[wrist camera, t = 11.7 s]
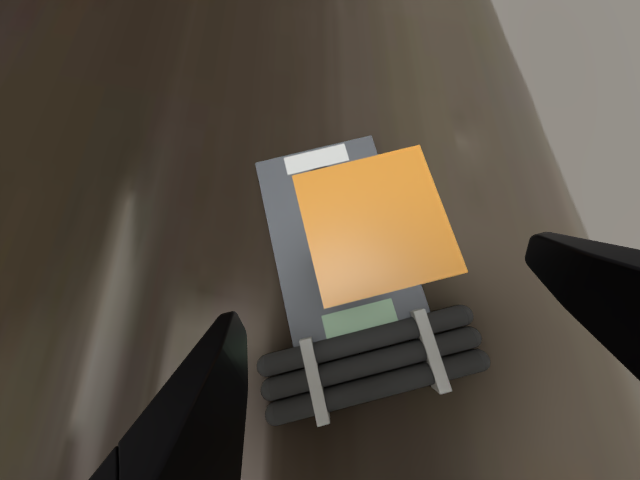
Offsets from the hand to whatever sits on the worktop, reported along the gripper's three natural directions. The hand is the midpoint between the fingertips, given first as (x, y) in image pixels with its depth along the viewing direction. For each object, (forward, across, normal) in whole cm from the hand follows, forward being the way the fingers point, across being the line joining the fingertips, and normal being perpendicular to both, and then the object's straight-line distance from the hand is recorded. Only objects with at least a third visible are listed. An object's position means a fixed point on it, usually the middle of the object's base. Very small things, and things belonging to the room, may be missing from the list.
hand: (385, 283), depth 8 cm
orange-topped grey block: (+9, 0, +7) cm, 12 cm away
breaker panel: (+12, 0, +5) cm, 13 cm away
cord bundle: (+5, 0, +12) cm, 13 cm away
